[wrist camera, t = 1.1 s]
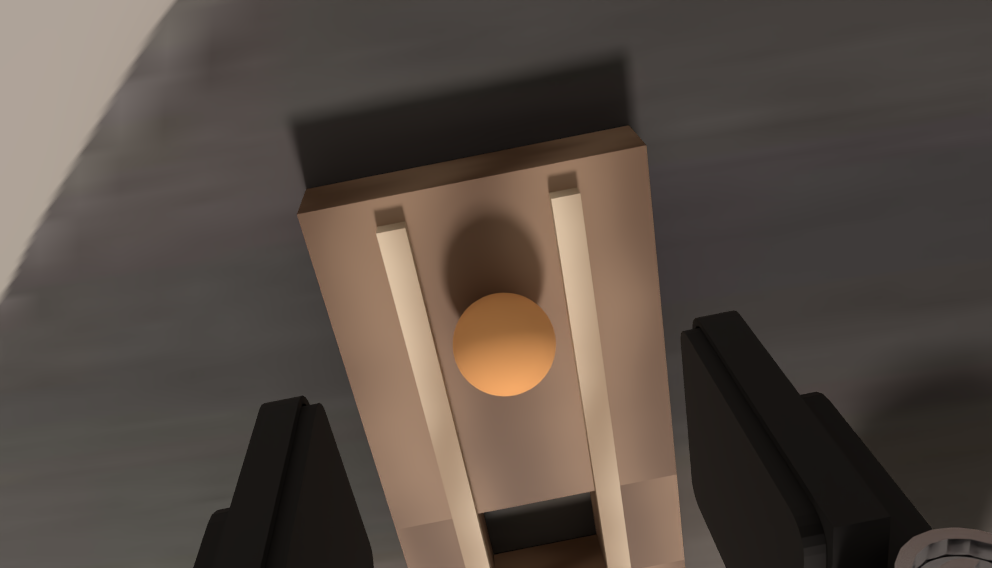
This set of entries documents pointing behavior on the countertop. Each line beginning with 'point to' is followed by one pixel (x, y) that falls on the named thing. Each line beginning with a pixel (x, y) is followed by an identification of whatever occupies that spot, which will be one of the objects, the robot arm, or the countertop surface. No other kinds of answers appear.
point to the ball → (504, 344)
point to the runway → (566, 387)
